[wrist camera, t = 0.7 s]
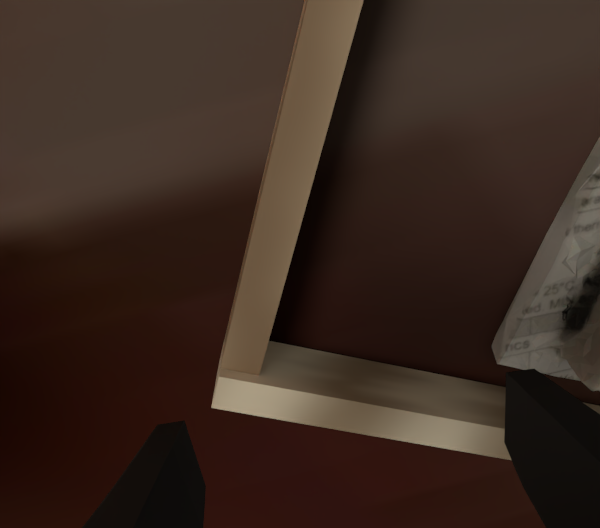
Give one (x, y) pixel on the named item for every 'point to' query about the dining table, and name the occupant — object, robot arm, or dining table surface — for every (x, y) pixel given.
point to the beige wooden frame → (272, 275)
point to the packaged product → (561, 292)
